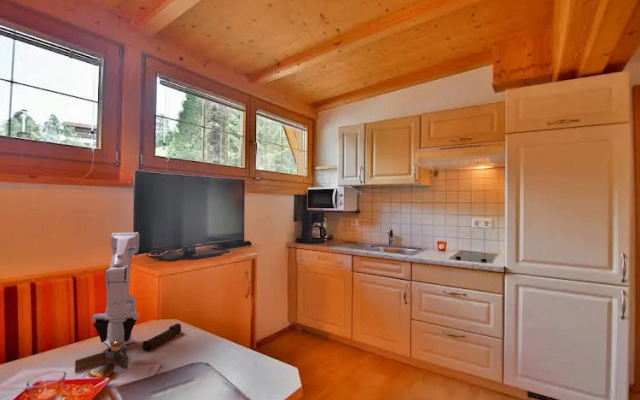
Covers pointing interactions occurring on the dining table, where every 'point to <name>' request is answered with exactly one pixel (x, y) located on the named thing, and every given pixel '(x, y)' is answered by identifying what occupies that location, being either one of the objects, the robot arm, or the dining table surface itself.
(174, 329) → the hand tool
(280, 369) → the dining table surface
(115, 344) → the bronze pin
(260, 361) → the dining table surface
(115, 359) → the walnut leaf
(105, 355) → the grey ring with handle
